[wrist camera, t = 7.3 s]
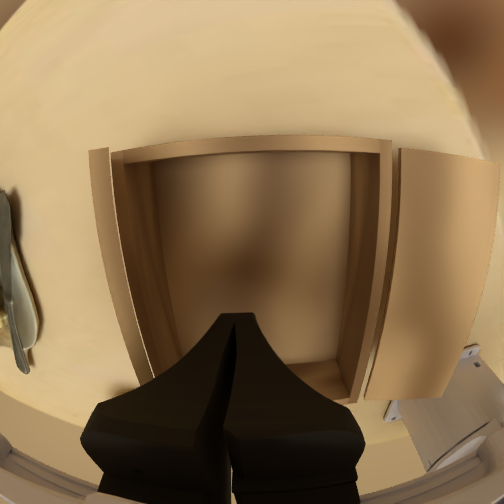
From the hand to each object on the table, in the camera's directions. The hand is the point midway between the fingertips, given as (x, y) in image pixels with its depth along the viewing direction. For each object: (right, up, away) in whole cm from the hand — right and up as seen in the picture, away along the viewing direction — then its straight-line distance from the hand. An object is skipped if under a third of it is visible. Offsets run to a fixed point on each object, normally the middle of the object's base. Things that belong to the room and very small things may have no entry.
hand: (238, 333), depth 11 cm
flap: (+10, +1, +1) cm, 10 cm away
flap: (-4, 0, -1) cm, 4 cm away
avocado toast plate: (-25, +2, +7) cm, 26 cm away
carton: (+1, +2, +6) cm, 6 cm away
